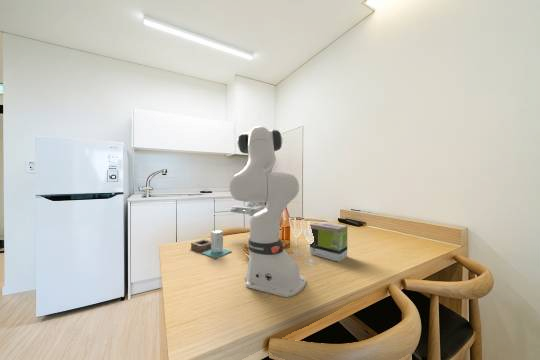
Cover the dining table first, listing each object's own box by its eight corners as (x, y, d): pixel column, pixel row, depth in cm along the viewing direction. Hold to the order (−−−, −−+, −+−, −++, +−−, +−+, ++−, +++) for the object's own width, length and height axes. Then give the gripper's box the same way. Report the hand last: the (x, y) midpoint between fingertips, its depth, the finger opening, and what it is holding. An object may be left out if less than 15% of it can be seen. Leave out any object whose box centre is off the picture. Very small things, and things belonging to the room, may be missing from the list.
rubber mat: (231, 252, 100) (231, 251, 100) (215, 258, 92) (215, 257, 92) (218, 247, 106) (218, 247, 106) (201, 253, 98) (201, 252, 98)
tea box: (347, 256, 96) (348, 225, 96) (339, 262, 89) (339, 229, 88) (319, 248, 106) (319, 220, 106) (309, 254, 99) (309, 223, 98)
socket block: (214, 247, 106) (214, 242, 106) (200, 252, 100) (200, 246, 100) (204, 244, 111) (204, 239, 111) (191, 248, 104) (191, 243, 104)
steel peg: (222, 251, 99) (222, 231, 99) (216, 254, 96) (216, 233, 96) (217, 249, 102) (217, 230, 102) (211, 252, 98) (211, 231, 98)
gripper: (241, 202, 128) (224, 204, 117) (267, 204, 116) (251, 207, 105) (241, 212, 128) (224, 215, 117) (267, 215, 116) (251, 219, 105)
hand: (237, 211), depth 111 cm, fingers open, 8 cm apart
